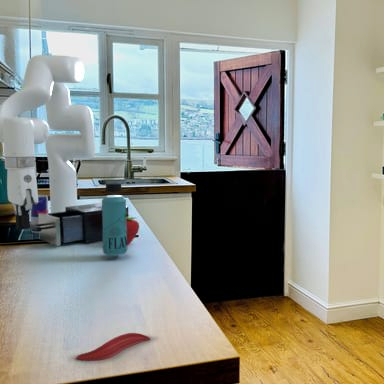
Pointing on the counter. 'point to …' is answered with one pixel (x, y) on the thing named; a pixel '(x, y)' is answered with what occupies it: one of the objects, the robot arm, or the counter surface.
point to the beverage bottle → (114, 221)
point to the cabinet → (91, 221)
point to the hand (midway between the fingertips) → (23, 228)
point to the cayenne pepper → (113, 346)
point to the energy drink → (39, 210)
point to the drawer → (60, 227)
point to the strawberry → (131, 228)
